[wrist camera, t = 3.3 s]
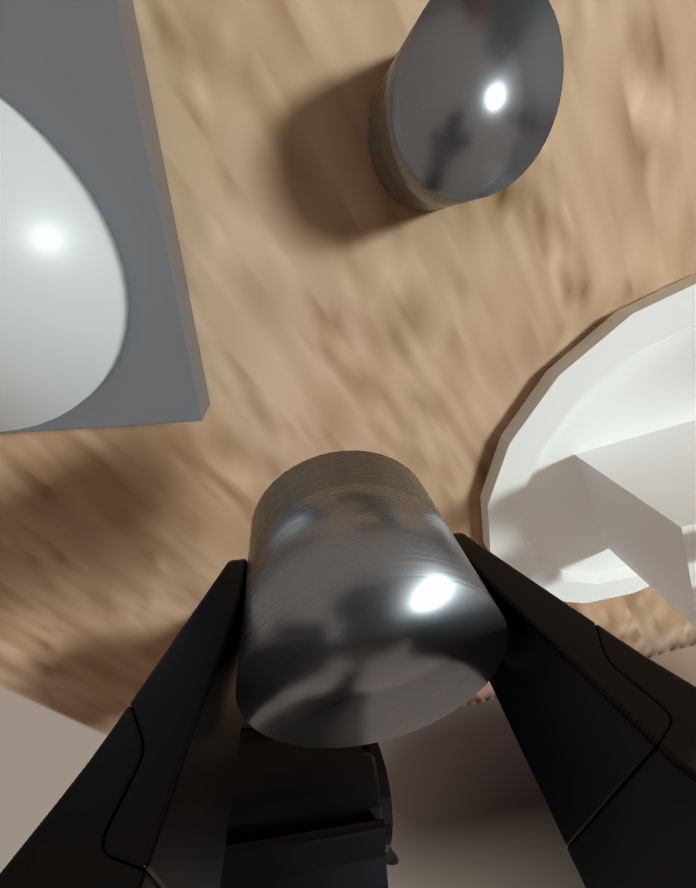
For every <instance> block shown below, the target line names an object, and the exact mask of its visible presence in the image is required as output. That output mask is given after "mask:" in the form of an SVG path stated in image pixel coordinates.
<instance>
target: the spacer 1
mask: <svg viewBox="0 0 696 888" xmlns="http://www.w3.org/2000/svg"><path fill="white" fill-rule="evenodd" d="M563 71H564V70H563V47H562V39H561V34H560V29H559V25H558V22H557V19H556V16H555V13H554V11H553V9H552V6H551V4H550V2H549V0H430V1H429V3H428V4H427V6H426V7H425V9H424V10H423V12H422V13H421V15H420V17H419V18H418V20H417V22H416V23H415V25H414V27H413V28H412V30H411V32H410V33H409V35H408V37H407V38H406V40H405V42H404V43H403V45H402V47H401V48H400V50H399V52H398V53H397V55H396V57H395V58H394V60H393V62H392V63H391V65H390V67H389V68H388V70H387V72H386V73H385V75H384V77H383V79H382V81H381V82H380V84H379V86H378V89H377V91H376V94H375V96H374V100H373V103H372V107H371V112H370V118H369V129H368V134H369V148H370V155H371V159H372V163H373V166H374V169H375V172H376V174H377V176H378V178H379V180H380V182H381V184H382V185H383V187H384V188H385V190H386V191H387V192H388V193H389V194H390V195H391V196H392V197H393V198H394V199H395V200H396V201H397V202H399V203H400V204H402V205H404V206H406V207H408V208H410V209H414V210H417V211H434V210H438V209H442V208H446V207H450V206H453V205H457V204H461V203H464V202H468V201H472V200H475V199H479V198H483V197H487V196H489V195H492V194H495V193H497V192H499V191H501V190H502V189H504V188H506V187H507V186H509V185H510V184H512V183H513V182H514V181H515V180H517V179H518V178H519V177H520V176H521V175H522V174H523V173H524V172H525V171H526V169H527V168H528V167H529V166H530V165H531V164H532V162H533V161H534V159H535V158H536V157H537V155H538V154H539V152H540V150H541V148H542V147H543V145H544V143H545V141H546V139H547V137H548V135H549V133H550V130H551V128H552V125H553V122H554V120H555V117H556V113H557V110H558V106H559V102H560V96H561V91H562V83H563Z"/></svg>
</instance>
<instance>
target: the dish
mask: <svg viewBox="0 0 696 888" xmlns="http://www.w3.org/2000/svg"><path fill="white" fill-rule="evenodd" d="M480 501H481V516H482V531H483V543H484V544H485V546H486V547H487V549H488V550H489V551H490V552H491V553H493V554H494V555H495V556H497V557H498V558H500V559H501V560H503V561H504V562H506V563H507V564H509V565H510V566H512V567H513V568H515V569H516V570H518V571H519V572H521V573H522V574H524V575H525V576H526V577H528V578H529V579H531V580H532V581H534V582H535V583H537V584H538V585H540V586H541V587H543V588H544V589H546V590H547V591H549V592H550V593H552V594H553V595H554V596H556V597H557V598H559V599H560V600H562V601H563V602H578V603H589V602H594V601H598V600H603V599H608V598H613V597H618V596H622V595H627V594H632V593H635V592H637V591H640V590H642V589H644V588H647V587H649V586H651V587H652V588H653V589H654V590H655V591H656V592H657V593H658V594H659V595H661V596H662V597H663V598H664V599H665V600H666V601H667V602H668V603H670V604H671V605H672V606H673V607H674V608H675V609H676V610H677V611H678V612H680V613H681V614H682V615H683V616H684V617H685V618H686V619H687V620H689V621H690V622H691V623H692V624H693V625H694V626H695V627H696V273H695V274H692V275H690V276H688V277H686V278H684V279H682V280H680V281H678V282H676V283H674V284H672V285H669V286H667V287H665V288H663V289H661V290H659V291H657V292H655V293H653V294H651V295H649V296H646V297H644V298H642V299H640V300H638V301H636V302H634V303H632V304H630V305H628V306H626V307H623V308H621V309H619V310H617V311H615V312H614V313H613V314H612V315H611V316H610V317H608V318H607V319H606V320H605V321H604V322H603V323H601V324H600V325H599V326H598V327H597V328H596V329H594V330H593V331H592V332H591V333H590V334H589V335H587V336H586V337H585V338H584V339H583V340H582V341H580V342H579V343H578V344H577V345H576V346H575V347H573V348H572V349H571V350H570V351H569V352H568V353H566V354H565V355H564V356H563V357H562V358H561V359H559V360H558V361H557V362H556V363H555V364H554V365H552V366H551V367H550V368H549V369H548V370H547V371H546V372H545V374H544V375H543V376H542V378H541V379H540V381H539V382H538V383H537V385H536V386H535V388H534V389H533V391H532V392H531V393H530V395H529V396H528V398H527V399H526V400H525V402H524V403H523V405H522V406H521V408H520V409H519V410H518V412H517V413H516V415H515V416H514V417H513V419H512V420H511V422H510V423H509V425H508V426H507V427H506V429H505V430H504V432H503V433H502V434H501V436H500V439H499V442H498V444H497V447H496V450H495V453H494V456H493V459H492V462H491V465H490V468H489V471H488V474H487V477H486V480H485V483H484V486H483V489H482V492H481V495H480Z"/></svg>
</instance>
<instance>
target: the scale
mask: <svg viewBox="0 0 696 888" xmlns="http://www.w3.org/2000/svg"><path fill="white" fill-rule="evenodd" d="M209 404H210V402H209V397H208V392H207V387H206V382H205V376H204V371H203V366H202V361H201V356H200V350H199V345H198V340H197V335H196V329H195V324H194V319H193V314H192V309H191V303H190V298H189V293H188V288H187V283H186V277H185V272H184V267H183V262H182V257H181V251H180V246H179V241H178V236H177V230H176V225H175V220H174V215H173V210H172V204H171V199H170V194H169V189H168V184H167V178H166V173H165V168H164V163H163V157H162V152H161V147H160V142H159V137H158V131H157V126H156V121H155V116H154V111H153V105H152V100H151V95H150V90H149V84H148V79H147V74H146V69H145V64H144V58H143V53H142V48H141V43H140V38H139V32H138V27H137V22H136V17H135V11H134V6H133V1H132V0H0V434H2V433H17V432H33V431H49V430H65V429H81V428H96V427H112V426H128V425H144V424H160V423H175V422H191V421H202V420H203V418H204V415H205V413H206V411H207V409H208V407H209Z"/></svg>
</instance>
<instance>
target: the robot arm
mask: <svg viewBox="0 0 696 888" xmlns="http://www.w3.org/2000/svg"><path fill="white" fill-rule="evenodd" d="M453 535H454V537H455V539H456V540H457V542H458V543H459V545H460V547H461V548H462V550H463V551H464V553H465V555H466V556H467V558H468V560H469V561H470V563H471V564H472V566H473V568H474V569H475V571H476V573H477V574H478V576H479V577H480V579H481V581H482V582H483V584H484V585H485V587H486V589H487V590H488V592H489V594H490V595H491V597H492V598H493V600H494V602H495V603H496V605H497V607H498V608H499V610H500V611H501V613H502V615H503V617H504V619H505V622H506V624H507V630H508V645H507V649H506V652H505V656H504V658H503V660H502V662H501V664H500V666H499V668H498V669H497V671H496V672H495V674H494V675H493V676H492V678H491V679H490V680H489V681H490V683H491V685H492V687H493V690H494V692H495V694H496V696H497V698H498V700H499V702H500V704H501V707H502V709H503V711H504V713H505V715H506V718H507V720H508V722H509V724H510V726H511V728H512V730H513V733H514V735H515V737H516V739H517V741H518V743H519V745H520V748H521V750H522V752H523V754H524V756H525V758H526V761H527V763H528V765H529V767H530V769H531V771H532V773H533V776H534V778H535V780H536V782H537V784H538V786H539V788H540V791H541V793H542V795H543V797H544V799H545V801H546V803H547V806H548V808H549V810H550V812H551V814H552V816H553V819H554V821H555V823H556V825H557V827H558V829H559V831H560V834H561V835H562V838H563V840H564V842H565V844H566V845H567V846H568V848H567V849H568V851H569V853H570V856H571V858H572V860H573V862H574V864H575V866H576V869H577V870H578V873H579V875H580V877H581V879H582V881H583V883H584V886H585V888H696V687H695V686H694V685H692V684H690V683H689V682H687V681H685V680H683V679H682V678H680V677H679V676H677V675H675V674H674V673H672V672H670V671H669V670H667V669H665V668H664V667H662V666H660V665H659V664H657V663H656V662H654V661H652V660H651V659H649V658H648V657H646V656H644V655H643V654H641V653H640V652H638V651H637V650H635V649H634V648H632V647H630V646H629V645H627V644H626V643H624V642H623V641H621V640H620V639H618V638H617V637H615V636H614V635H612V634H611V633H609V632H608V631H606V630H605V629H603V628H602V627H600V626H599V625H595V623H594V622H593V621H591V620H590V619H588V618H587V617H585V616H584V615H583V614H581V613H580V612H578V611H577V610H575V609H574V608H572V607H571V606H569V605H568V604H566V603H565V602H563V601H562V600H560V599H559V598H557V597H556V596H554V595H553V594H552V593H550V592H549V591H547V590H546V589H544V588H543V587H541V586H540V585H538V584H537V583H535V582H534V581H532V580H531V579H529V578H528V577H526V576H525V575H524V574H522V573H521V572H519V571H518V570H516V569H515V568H513V567H512V566H510V565H509V564H507V563H506V562H504V561H503V560H501V559H500V558H498V557H497V556H495V555H494V554H493V553H491V552H490V551H488V550H487V549H485V548H484V547H482V546H481V545H479V544H478V543H476V542H475V541H473V540H472V539H470V538H469V537H467V536H466V535H464V534H462V533H454V534H453ZM247 566H248V562H247V560H245V559H240V560H232V561H229V562H228V563H227V565H226V566H225V568H224V569H223V570H222V572H221V573H220V575H219V576H218V578H217V579H216V581H215V582H214V583H213V585H212V586H211V588H210V589H209V591H208V592H207V594H206V595H205V596H204V598H203V599H202V601H201V602H200V604H199V605H198V607H197V608H196V609H195V611H194V612H193V614H192V615H191V617H190V618H189V620H188V621H187V622H186V624H185V625H184V627H183V628H182V630H181V631H180V633H179V634H178V636H177V637H176V638H175V640H174V641H173V643H172V644H171V646H170V647H169V649H168V650H167V651H166V653H165V654H164V656H163V657H162V659H161V660H160V662H159V663H158V664H157V666H156V667H155V669H154V670H153V672H152V673H151V675H150V676H149V677H148V679H147V680H146V682H145V683H144V685H143V686H142V688H141V689H140V690H139V692H138V693H137V695H136V696H135V698H134V699H133V701H132V702H131V707H128V708H127V709H126V710H125V712H124V713H123V715H122V716H121V718H120V719H119V721H118V722H117V723H116V725H115V726H114V728H113V729H112V731H111V732H110V733H109V735H108V736H107V738H106V739H105V740H104V742H103V743H102V745H101V746H100V747H99V749H98V750H97V752H96V753H95V754H94V756H93V757H92V759H91V760H90V761H89V763H88V764H87V765H86V766H85V768H84V769H83V770H82V772H81V773H80V774H79V775H78V777H77V778H76V779H75V780H74V782H73V783H72V784H71V786H70V787H69V788H68V789H67V791H66V792H65V793H64V795H63V796H62V797H61V799H60V800H59V801H58V802H57V804H56V805H55V806H54V807H53V809H52V810H51V811H50V812H49V814H48V815H47V816H46V817H45V819H44V820H43V821H42V822H41V823H40V825H39V826H38V827H37V828H36V830H35V831H34V832H33V833H32V835H31V836H30V837H29V838H28V840H27V841H26V842H25V843H24V845H23V846H22V847H21V848H20V850H19V851H18V852H17V853H16V855H15V856H14V857H13V859H12V860H11V861H10V862H9V863H8V865H7V866H6V867H5V868H4V869H3V871H2V872H1V873H0V888H388V882H387V868H386V851H388V850H389V848H390V845H391V840H392V826H393V821H392V804H391V795H390V788H389V781H388V777H387V772H386V768H385V764H384V761H383V757H382V754H381V751H380V748H379V745H378V742H377V743H372V744H367V745H361V746H354V747H345V748H310V747H301V746H296V745H291V744H286V743H283V742H280V741H277V740H274V739H272V738H270V737H267V736H265V735H263V734H262V733H260V732H259V731H257V730H255V729H254V728H253V727H252V726H251V725H250V724H249V723H248V722H247V721H246V720H245V719H244V717H243V716H242V714H241V713H240V710H239V708H238V706H237V702H236V695H235V689H236V679H237V669H238V658H239V648H240V638H241V628H242V617H243V607H244V597H245V587H246V576H247Z"/></svg>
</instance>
